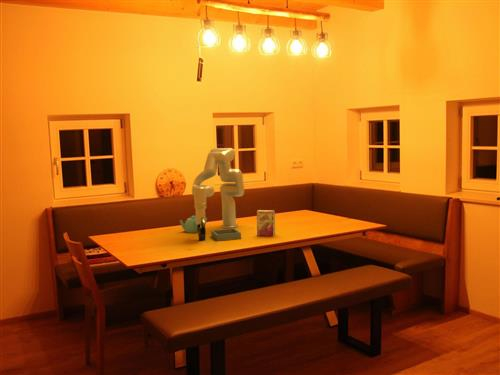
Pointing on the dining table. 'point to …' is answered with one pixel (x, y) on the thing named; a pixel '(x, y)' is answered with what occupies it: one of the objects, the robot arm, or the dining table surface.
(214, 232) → the trough
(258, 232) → the candy bar box
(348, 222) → the dining table surface
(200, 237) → the battery cell
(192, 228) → the teapot
